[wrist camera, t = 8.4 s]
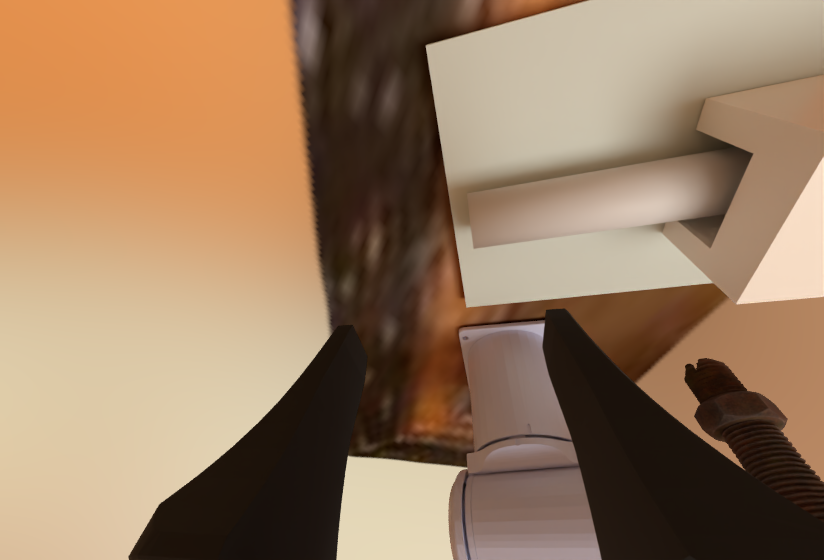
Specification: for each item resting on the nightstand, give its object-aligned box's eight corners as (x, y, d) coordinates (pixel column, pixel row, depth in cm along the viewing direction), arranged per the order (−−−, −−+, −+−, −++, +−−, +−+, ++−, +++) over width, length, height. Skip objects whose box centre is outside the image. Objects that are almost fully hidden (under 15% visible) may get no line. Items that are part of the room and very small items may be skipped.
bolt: (744, 340, 24) (1014, 624, 13) (740, 374, 27) (961, 635, 15) (659, 358, 26) (824, 615, 15) (662, 388, 29) (806, 625, 18)
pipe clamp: (898, 252, 19) (1047, 327, 14) (465, 298, 24) (470, 363, 19) (1311, -201, 9) (2248, -444, 4) (426, 44, 14) (418, 54, 9)
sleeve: (765, 219, 17) (883, 291, 12) (662, 233, 18) (735, 304, 13) (847, 69, 13) (1073, 94, 8) (705, 98, 14) (836, 135, 9)
